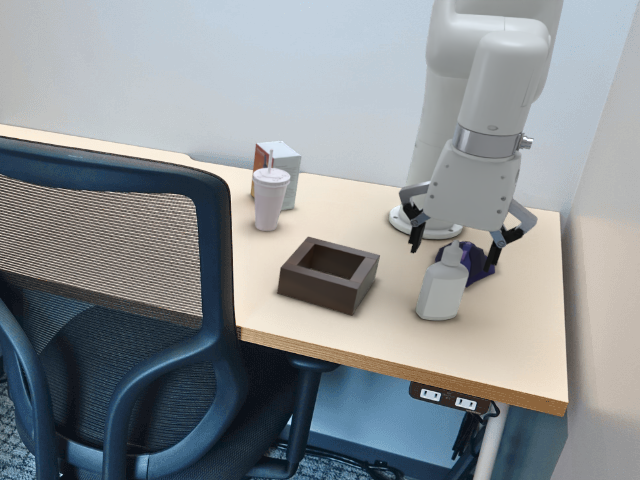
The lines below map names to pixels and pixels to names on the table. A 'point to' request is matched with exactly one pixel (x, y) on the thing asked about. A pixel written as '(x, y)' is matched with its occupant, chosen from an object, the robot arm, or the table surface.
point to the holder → (324, 287)
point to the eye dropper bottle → (443, 286)
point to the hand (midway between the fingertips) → (450, 258)
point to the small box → (279, 166)
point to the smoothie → (269, 195)
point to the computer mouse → (470, 261)
